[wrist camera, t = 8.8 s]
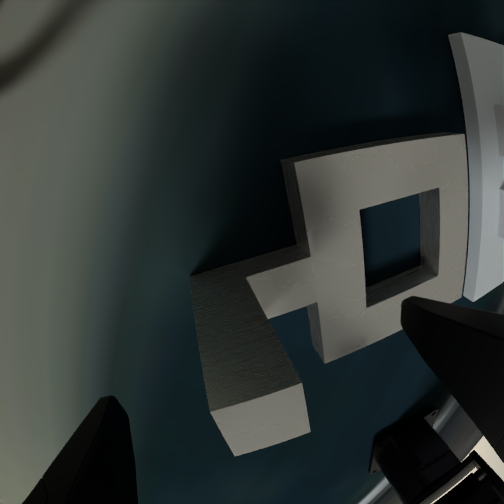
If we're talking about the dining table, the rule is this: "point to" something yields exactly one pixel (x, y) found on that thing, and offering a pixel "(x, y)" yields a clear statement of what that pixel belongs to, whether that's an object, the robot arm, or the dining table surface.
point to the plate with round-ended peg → (483, 157)
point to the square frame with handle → (326, 278)
